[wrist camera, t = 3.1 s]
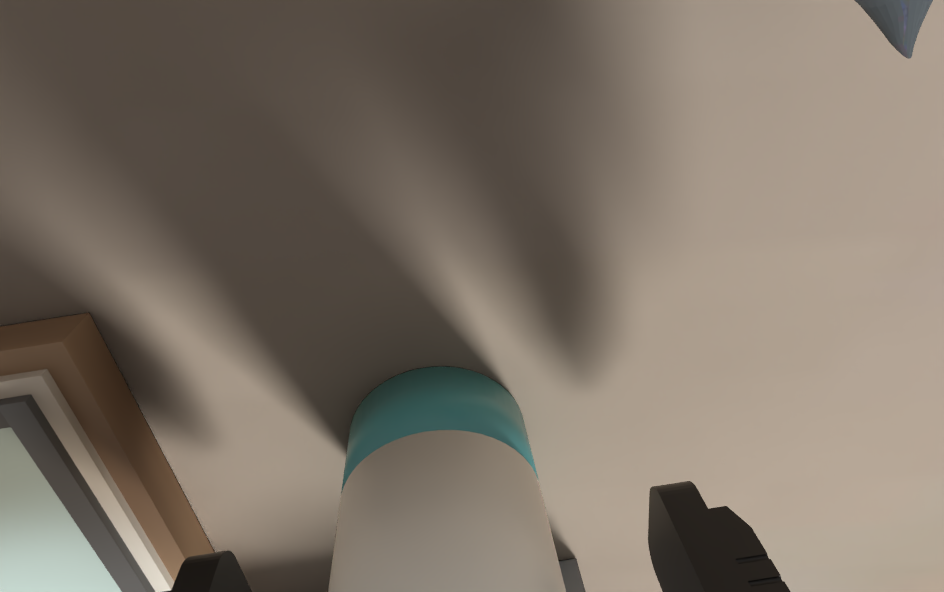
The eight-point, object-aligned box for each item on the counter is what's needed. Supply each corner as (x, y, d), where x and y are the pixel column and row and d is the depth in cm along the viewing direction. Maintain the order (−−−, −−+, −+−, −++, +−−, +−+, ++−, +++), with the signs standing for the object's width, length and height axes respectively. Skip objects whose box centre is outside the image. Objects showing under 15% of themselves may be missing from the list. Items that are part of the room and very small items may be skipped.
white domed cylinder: (330, 382, 13) (241, 829, 6) (516, 353, 13) (628, 763, 6) (369, 511, 15) (335, 956, 8) (530, 486, 15) (627, 904, 8)
